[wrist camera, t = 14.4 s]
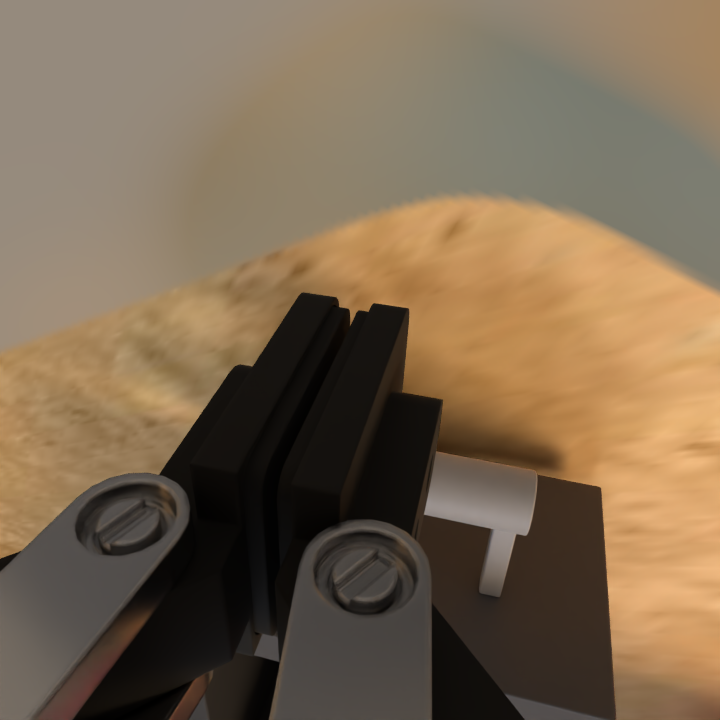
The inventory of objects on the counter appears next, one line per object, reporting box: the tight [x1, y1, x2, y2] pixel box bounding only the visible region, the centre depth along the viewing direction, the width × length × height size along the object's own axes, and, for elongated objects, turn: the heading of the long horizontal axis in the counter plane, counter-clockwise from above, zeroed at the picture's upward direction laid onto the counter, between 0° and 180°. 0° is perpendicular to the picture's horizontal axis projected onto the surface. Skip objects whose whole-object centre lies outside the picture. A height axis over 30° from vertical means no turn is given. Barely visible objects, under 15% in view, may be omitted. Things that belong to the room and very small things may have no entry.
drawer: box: [189, 451, 616, 720], centre depth 23 cm, size 18×12×8 cm
